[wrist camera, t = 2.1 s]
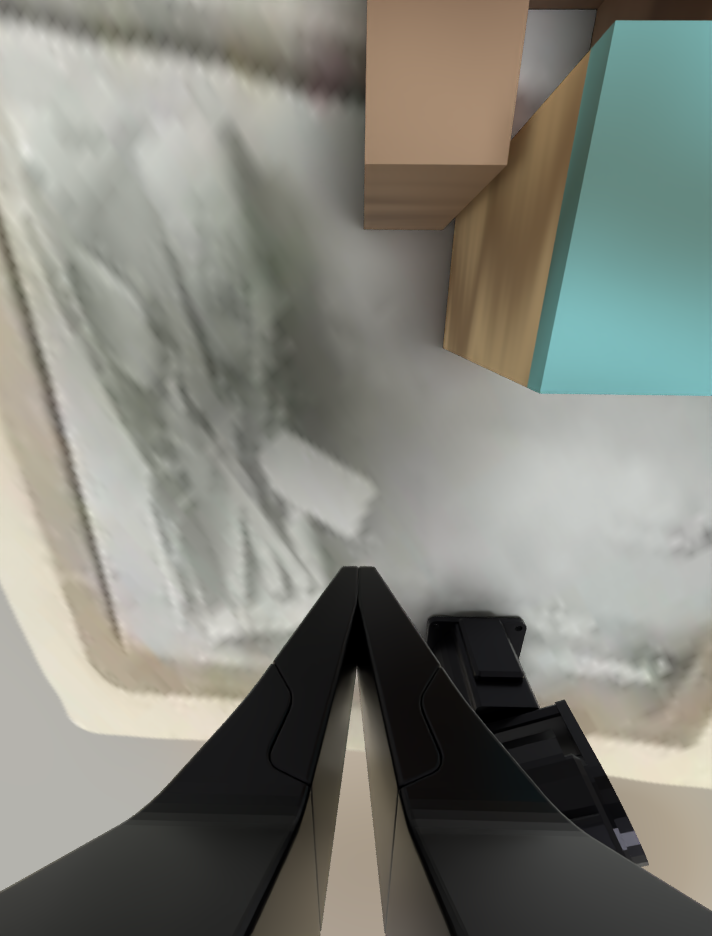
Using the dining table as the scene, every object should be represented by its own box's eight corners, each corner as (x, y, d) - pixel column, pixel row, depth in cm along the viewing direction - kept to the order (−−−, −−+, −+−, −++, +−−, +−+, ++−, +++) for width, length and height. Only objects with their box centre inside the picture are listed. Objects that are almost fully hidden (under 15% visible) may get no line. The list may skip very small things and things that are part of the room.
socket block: (635, 231, 16) (857, 167, 9) (363, 229, 17) (364, 163, 9) (703, -31, 13) (1129, -457, 6) (367, -31, 13) (373, -447, 6)
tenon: (524, 349, 18) (720, 395, 8) (442, 348, 18) (539, 393, 8) (550, 203, 16) (867, 21, 6) (456, 202, 16) (615, 20, 6)
